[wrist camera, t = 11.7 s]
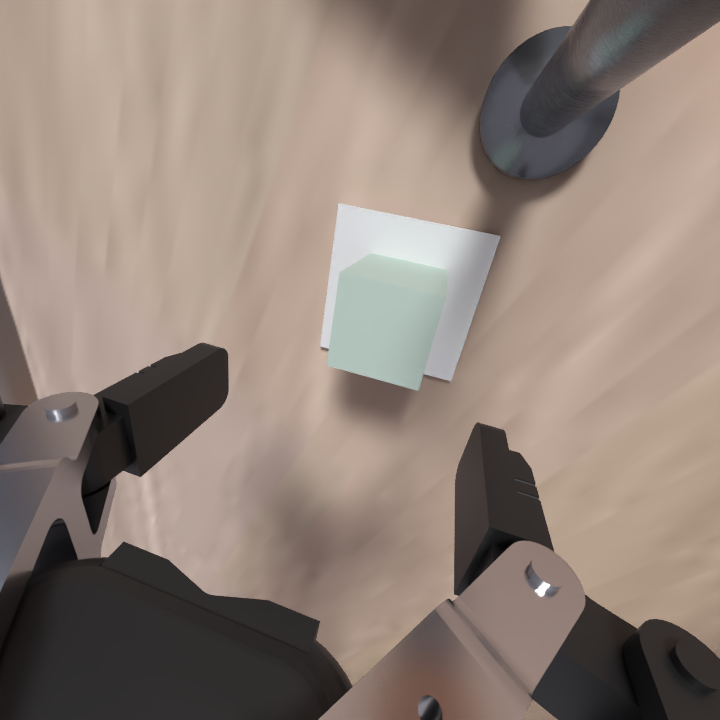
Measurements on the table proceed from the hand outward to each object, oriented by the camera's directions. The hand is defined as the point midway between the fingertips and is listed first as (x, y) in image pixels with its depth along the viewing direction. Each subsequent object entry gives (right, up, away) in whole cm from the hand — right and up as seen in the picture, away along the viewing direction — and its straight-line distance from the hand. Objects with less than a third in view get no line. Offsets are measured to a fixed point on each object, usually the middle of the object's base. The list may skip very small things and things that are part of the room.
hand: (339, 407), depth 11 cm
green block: (+3, +6, +12) cm, 14 cm away
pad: (+3, +6, +13) cm, 14 cm away
